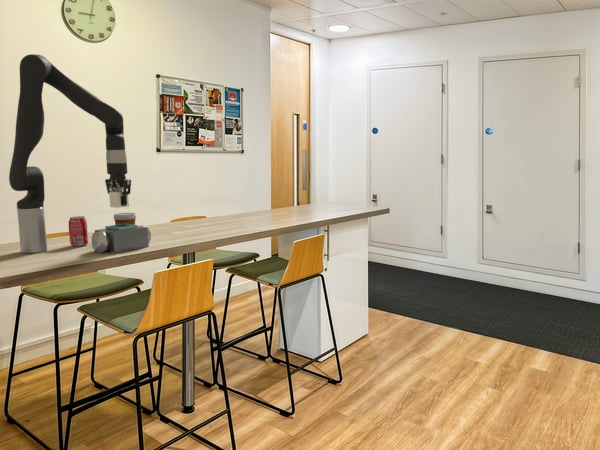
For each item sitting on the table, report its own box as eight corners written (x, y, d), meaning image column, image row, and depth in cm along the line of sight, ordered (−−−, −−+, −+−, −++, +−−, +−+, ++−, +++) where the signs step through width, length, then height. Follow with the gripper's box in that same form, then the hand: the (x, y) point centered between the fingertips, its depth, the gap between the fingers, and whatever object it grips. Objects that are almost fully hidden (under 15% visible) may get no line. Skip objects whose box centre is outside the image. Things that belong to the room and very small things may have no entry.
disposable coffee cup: (110, 242, 220) (108, 214, 218) (124, 238, 229) (123, 212, 227) (128, 243, 216) (126, 215, 215) (142, 239, 225) (140, 212, 224)
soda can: (82, 243, 218) (80, 215, 217) (92, 245, 214) (89, 216, 212) (66, 246, 212) (64, 217, 211) (76, 247, 208) (73, 218, 207)
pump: (110, 207, 202) (108, 188, 200) (121, 205, 206) (119, 187, 205) (117, 207, 199) (116, 188, 198) (128, 206, 203) (127, 187, 202)
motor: (89, 251, 199) (87, 228, 198) (136, 242, 217) (134, 221, 216) (107, 254, 192) (106, 230, 191) (154, 245, 210) (153, 223, 209)
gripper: (97, 162, 201) (100, 205, 203) (119, 162, 193) (122, 206, 195) (114, 161, 207) (117, 203, 209) (136, 161, 199) (139, 205, 201)
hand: (119, 205), depth 202 cm, fingers closed on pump, 5 cm apart
